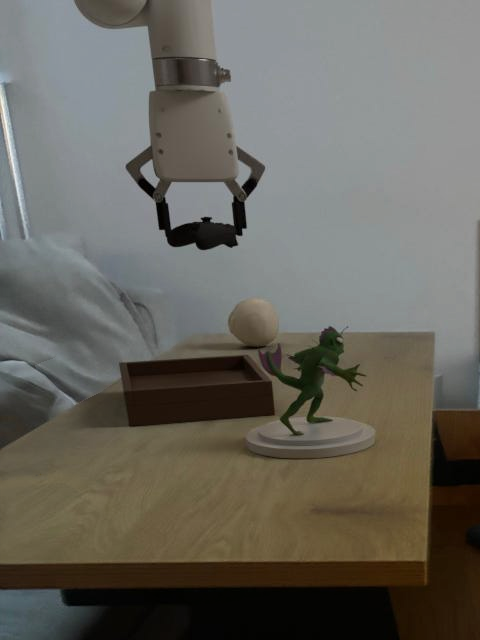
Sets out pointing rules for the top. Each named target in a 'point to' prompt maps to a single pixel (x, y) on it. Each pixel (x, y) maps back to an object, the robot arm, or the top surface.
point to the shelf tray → (195, 389)
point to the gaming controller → (203, 234)
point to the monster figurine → (311, 407)
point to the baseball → (254, 322)
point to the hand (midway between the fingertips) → (204, 235)
